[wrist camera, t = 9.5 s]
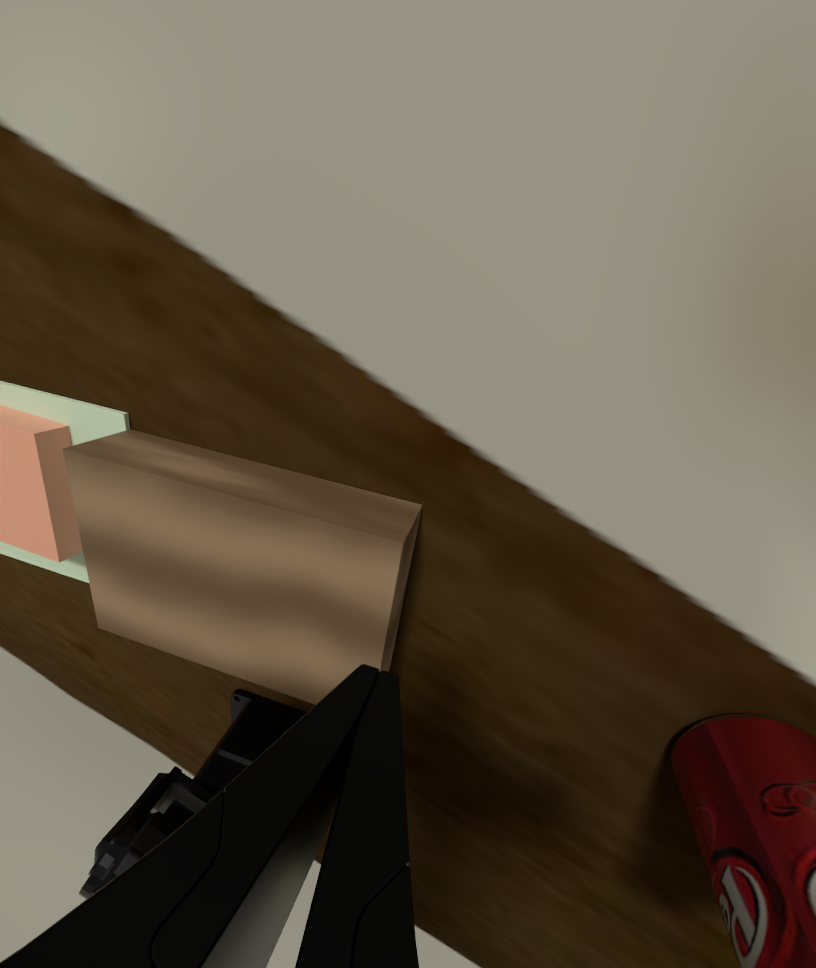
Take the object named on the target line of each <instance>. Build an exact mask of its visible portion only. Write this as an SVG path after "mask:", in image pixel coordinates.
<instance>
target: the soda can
mask: <svg viewBox="0 0 816 968" xmlns="http://www.w3.org/2000/svg"><path fill="white" fill-rule="evenodd" d="M670 761H671V768H672V773H673V776H674V779H675V781H676V784H677V787H678V790H679V793H680V796H681V799H682V802H683V804H684V807H685V810H686V813H687V816H688V819H689V822H690V825H691V827H692V830H693V833H694V836H695V839H696V842H697V845H698V848H699V850H700V853H701V856H702V859H703V862H704V865H705V868H706V871H707V873H708V876H709V879H710V882H711V885H712V888H713V891H714V893H715V896H716V899H717V902H718V905H719V908H720V911H721V914H722V916H723V919H724V922H725V925H726V928H727V931H728V934H729V937H730V939H731V942H732V945H733V948H734V951H735V954H736V957H737V960H738V962H739V965H740V968H816V739H815V738H814V737H813V736H812V735H810V734H808V733H807V732H805V731H803V730H802V729H800V728H798V727H796V726H793V725H791V724H788V723H786V722H783V721H781V720H778V719H775V718H771V717H767V716H763V715H755V714H725V715H718V716H715V717H711V718H707V719H705V720H702V721H700V722H698V723H696V724H694V725H693V726H691V727H690V728H688V729H687V730H686V731H685V732H684V733H683V734H682V735H681V736H680V737H679V739H678V740H677V742H676V744H675V745H674V747H673V749H672V754H671V759H670Z"/></svg>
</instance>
